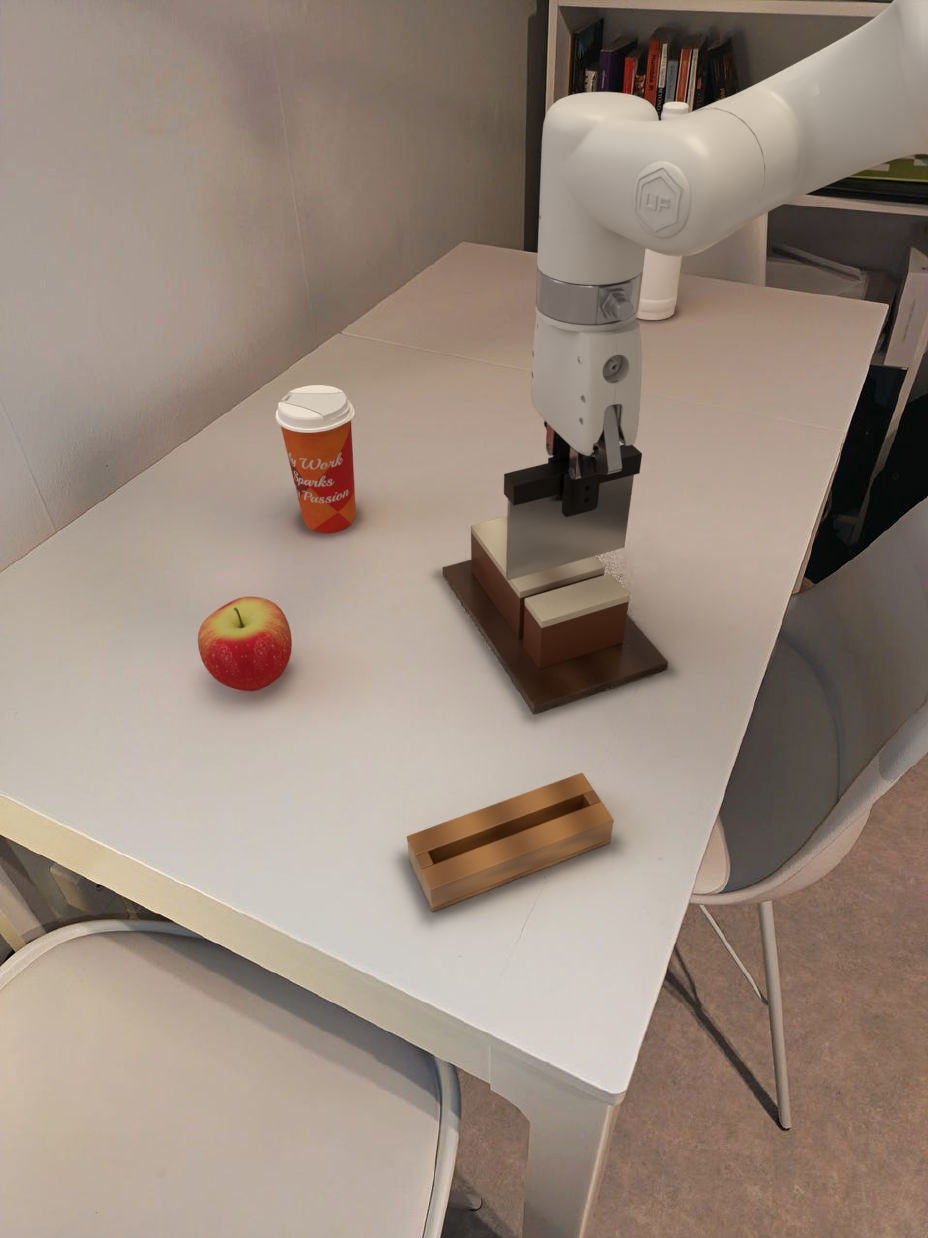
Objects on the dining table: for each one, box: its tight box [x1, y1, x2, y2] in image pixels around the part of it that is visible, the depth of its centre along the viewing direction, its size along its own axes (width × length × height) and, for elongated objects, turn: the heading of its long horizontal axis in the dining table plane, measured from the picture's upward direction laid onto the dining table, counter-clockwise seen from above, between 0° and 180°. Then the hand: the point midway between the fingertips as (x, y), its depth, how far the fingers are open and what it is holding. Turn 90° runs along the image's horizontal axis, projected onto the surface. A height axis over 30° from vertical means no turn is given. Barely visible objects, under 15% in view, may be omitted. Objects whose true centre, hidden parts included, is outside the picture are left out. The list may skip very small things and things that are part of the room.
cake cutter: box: [503, 443, 643, 580], centre depth 77 cm, size 12×2×10 cm, turn 113°
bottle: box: [636, 101, 690, 321], centre depth 135 cm, size 8×8×30 cm
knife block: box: [406, 772, 615, 912], centre depth 68 cm, size 15×5×3 cm, turn 113°
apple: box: [197, 596, 293, 692], centre depth 80 cm, size 8×8×10 cm
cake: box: [441, 515, 669, 714], centre depth 87 cm, size 14×22×7 cm, turn 23°
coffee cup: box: [275, 384, 356, 534], centre depth 98 cm, size 8×8×15 cm
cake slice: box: [523, 573, 631, 669], centre depth 83 cm, size 9×4×6 cm, turn 113°
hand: (571, 501), depth 76 cm, fingers closed on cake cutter, 2 cm apart
